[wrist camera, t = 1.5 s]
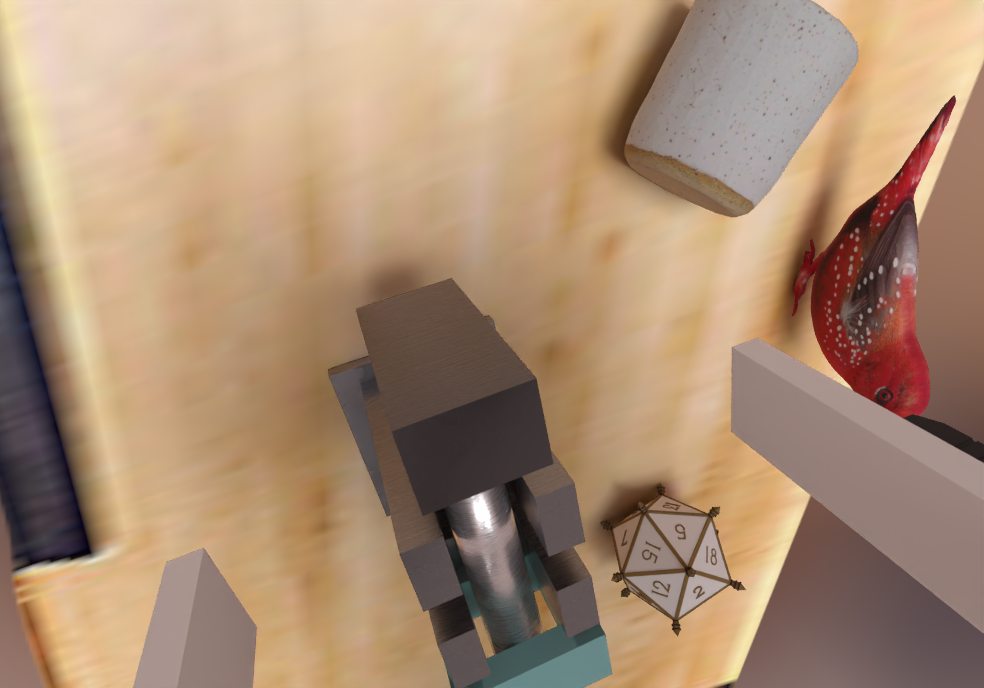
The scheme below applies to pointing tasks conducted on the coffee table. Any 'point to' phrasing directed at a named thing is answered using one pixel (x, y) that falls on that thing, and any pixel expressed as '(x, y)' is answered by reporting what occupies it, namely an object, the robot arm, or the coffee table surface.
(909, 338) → the decorative bird figurine
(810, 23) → the ceramic mug
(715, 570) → the game die
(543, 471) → the stand
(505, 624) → the grey piece
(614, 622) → the coffee table surface
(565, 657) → the frame
